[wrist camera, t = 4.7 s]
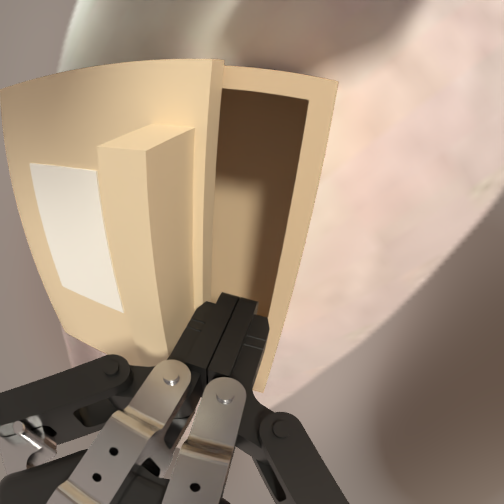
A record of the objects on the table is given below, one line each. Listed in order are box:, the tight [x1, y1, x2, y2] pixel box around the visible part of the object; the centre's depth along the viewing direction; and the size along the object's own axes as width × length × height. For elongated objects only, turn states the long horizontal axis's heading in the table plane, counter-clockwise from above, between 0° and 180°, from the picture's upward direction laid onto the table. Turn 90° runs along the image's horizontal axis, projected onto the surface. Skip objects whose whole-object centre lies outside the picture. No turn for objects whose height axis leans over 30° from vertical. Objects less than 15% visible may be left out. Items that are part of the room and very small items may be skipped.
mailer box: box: [211, 65, 338, 393], centre depth 16 cm, size 18×12×6 cm, turn 173°
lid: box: [0, 59, 225, 367], centre depth 13 cm, size 18×12×4 cm
